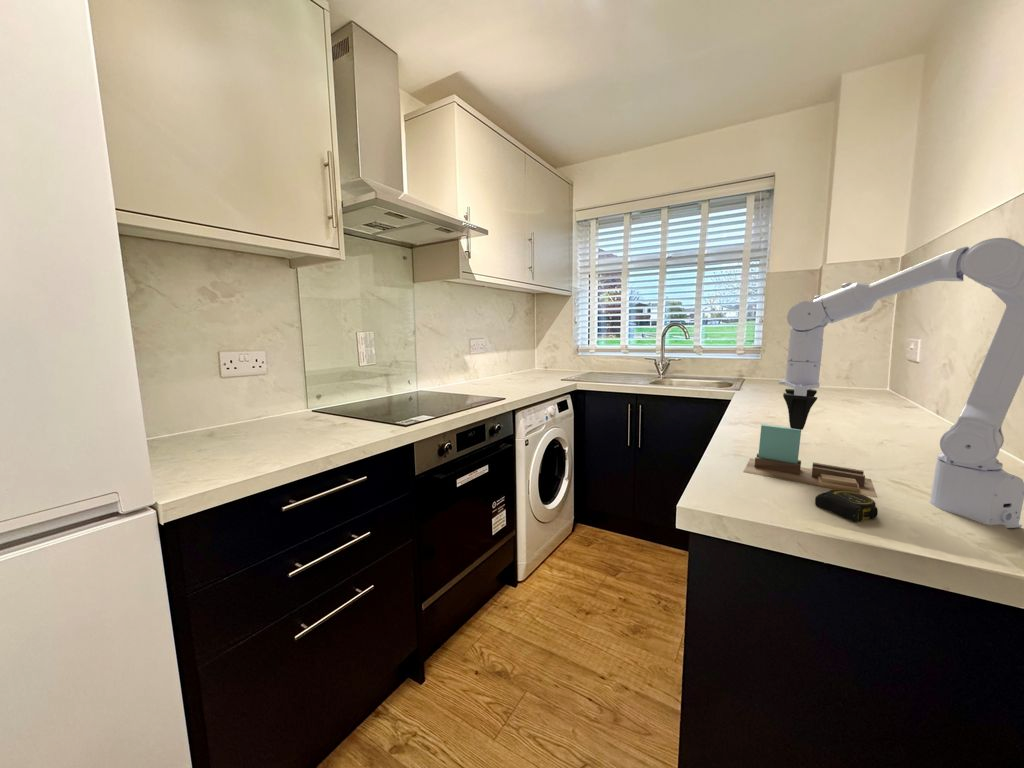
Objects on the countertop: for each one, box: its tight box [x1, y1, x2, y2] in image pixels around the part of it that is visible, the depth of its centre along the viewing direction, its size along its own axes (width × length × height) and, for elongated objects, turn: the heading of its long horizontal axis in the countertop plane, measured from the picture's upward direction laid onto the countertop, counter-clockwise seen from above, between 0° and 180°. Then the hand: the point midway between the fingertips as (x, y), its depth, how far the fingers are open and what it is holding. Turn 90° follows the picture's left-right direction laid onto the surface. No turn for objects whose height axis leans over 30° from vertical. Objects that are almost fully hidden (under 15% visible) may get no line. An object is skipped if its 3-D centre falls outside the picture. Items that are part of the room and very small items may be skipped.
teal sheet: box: [758, 423, 802, 464], centre depth 87 cm, size 2×7×9 cm, turn 54°
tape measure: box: [814, 489, 879, 523], centre depth 67 cm, size 7×7×4 cm
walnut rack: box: [743, 452, 878, 498], centre depth 83 cm, size 11×21×3 cm, turn 54°
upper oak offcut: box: [820, 474, 858, 488], centre depth 77 cm, size 3×5×1 cm, turn 59°
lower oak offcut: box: [818, 477, 859, 493], centre depth 77 cm, size 3×6×1 cm, turn 54°
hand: (797, 425), depth 87 cm, fingers open, 7 cm apart
